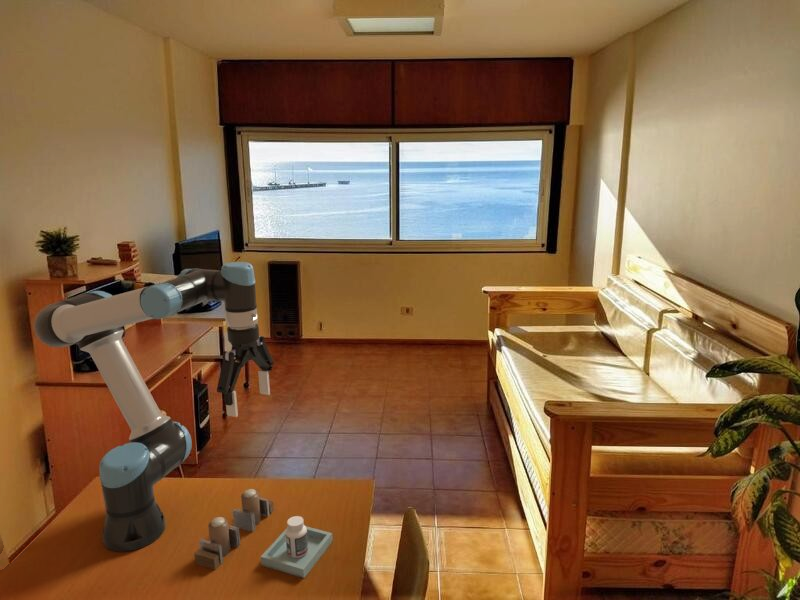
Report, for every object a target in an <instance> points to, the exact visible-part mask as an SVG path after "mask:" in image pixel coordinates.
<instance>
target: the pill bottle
mask: <svg viewBox="0 0 800 600" xmlns="http://www.w3.org/2000/svg"><path fill="white" fill-rule="evenodd" d="M286 523H287V524H286V526H287V527H286V528H285V530H286V532H285V534H286V547H287V554H288V555H289V556H290V557H292V558H300V557H303V556H304V555H306V554H307V552H308V538H307V528H306V525H305V524H304V518H303V517H302V516H301V515H295V516H291V517H290V518H288V519H287V521H286Z"/></svg>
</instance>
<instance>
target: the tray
mask: <svg viewBox="0 0 800 600" xmlns="http://www.w3.org/2000/svg"><path fill="white" fill-rule="evenodd" d="M305 526H306V525H305ZM306 528H307V538H308V552H307V554H306V555H304V556H303V557H300V558H292V557H290V556H289V555H288V554H287V547H286V534H285V532H286V529H285V530H283V531H282V533H281V534H280V535H279V536H278V537H277V538H276V539H275V541H273V542H272V543H271V544H270V546H269V547H268V548H267V549H266V550H265V551H264V553H263V554H261V555H260V563H261V566H263V567H266V568H269V569H272V570H276V571H279V572H282V573H286V574H288V575H292V576H295V577H298V578H302V579H305V578H306V577H307V575H308V574H309V573H310V571H311V570H312V569H313V568H314V567H315V565H316V564H317V563H318V561H319V560H320V559H321V557H322V556H323V554H324V553H326V551H327V550H328V548H329V547H330V546H331V544H332V543H333V541H334V540H333V532H329V531H327V530H326V531H325V530H321V529H318V528H313V527H310V526H306Z"/></svg>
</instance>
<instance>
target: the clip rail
mask: <svg viewBox="0 0 800 600" xmlns="http://www.w3.org/2000/svg"><path fill="white" fill-rule="evenodd" d="M259 503H260V515H261V516H263V517H267V518H268V517H270V515H272V514H273V513H274V512H275V507H274V506H275V505H274V501H273V500H270V499H268V498H264V497H260V496H259ZM232 516H233V524H234V525H231V524H230V525H229V524H228V529H229V539H230V547H231V546H232V547H236V548H239V547H240V546H241V539H240V538H241V537H240V529H241V530H244V531H249V532H252V533H253V532H255V531H256V525H255V518H254V513H252V512H248V511H244V510H242V508H241V509H240V508H236V507H235V508H234V509H233V510H232ZM198 543H199V548H198V549H197V550H196V551H195V552H194V553H193V555H194V562H195V564H196V565H199V566H202V567H206V568H208V569H211V570H214V571H216V570H217V569H218V568H219V567H220V566H221V565H222V564H223V563H224V560H223V558H224V557H222V548H221V544H217V543H214V542H211V541H210V540H207V539H205V538H200V539H199V541H198Z"/></svg>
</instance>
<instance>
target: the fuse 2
mask: <svg viewBox="0 0 800 600" xmlns="http://www.w3.org/2000/svg"><path fill="white" fill-rule="evenodd" d="M259 497H260V493H259V491H257V490H256V489H255V488H249V489H246V490H244V492H242V494H241V495H240V500H241V510H244V511H248V512H252V513H254V518H255V526H257V525H258V524H260V523H261V520H262V517H261V516H262V515H260V503H259Z"/></svg>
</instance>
